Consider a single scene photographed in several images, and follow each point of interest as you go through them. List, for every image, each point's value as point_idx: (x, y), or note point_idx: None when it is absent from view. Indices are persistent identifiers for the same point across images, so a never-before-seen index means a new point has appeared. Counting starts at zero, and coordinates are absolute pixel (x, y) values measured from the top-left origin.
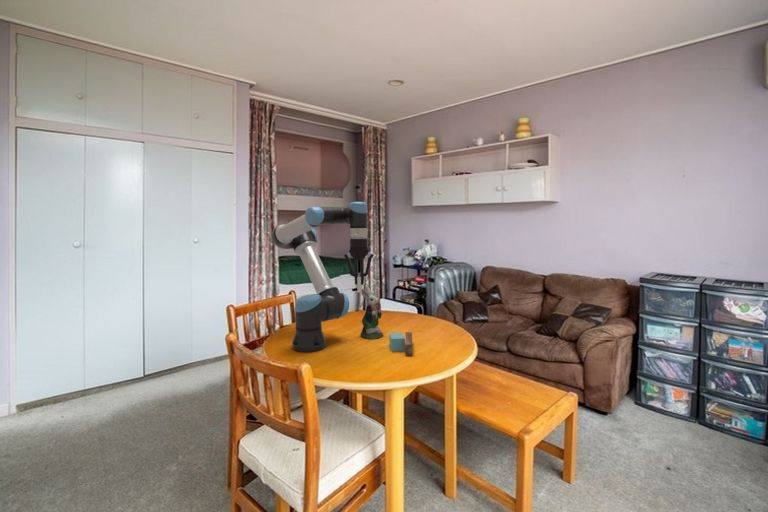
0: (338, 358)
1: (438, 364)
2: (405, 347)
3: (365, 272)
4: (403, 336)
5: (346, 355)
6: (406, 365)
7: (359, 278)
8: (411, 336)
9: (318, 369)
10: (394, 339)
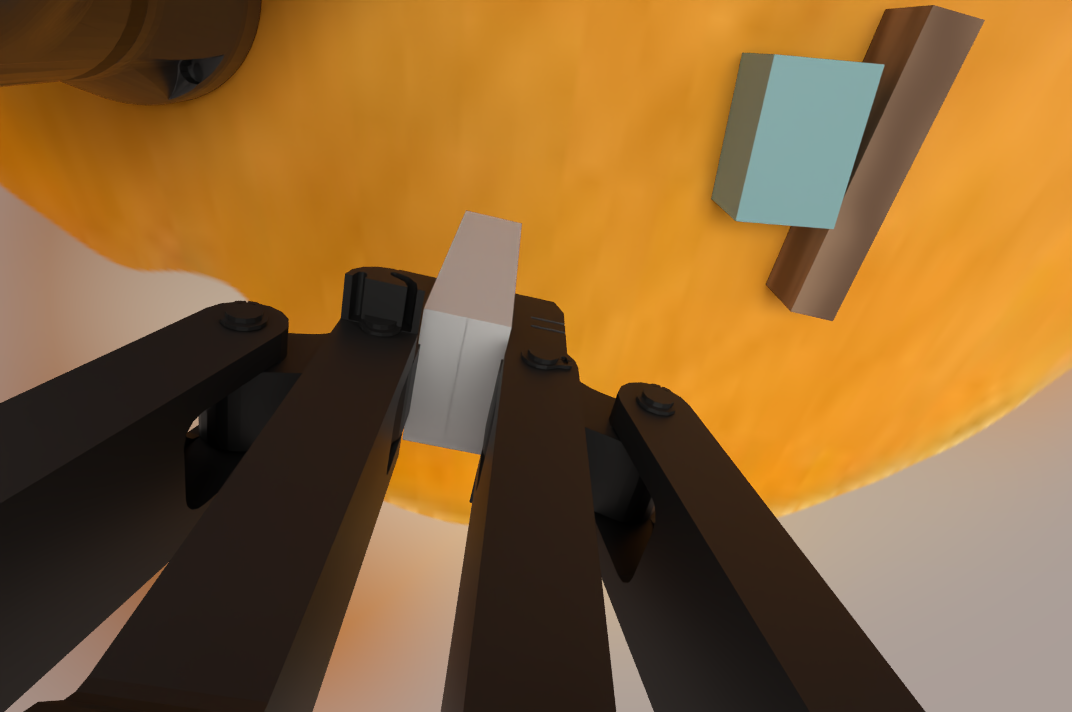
0: (377, 251)
1: (874, 420)
2: (785, 304)
3: (603, 558)
4: (843, 180)
5: (424, 209)
6: (720, 406)
7: (456, 437)
8: (916, 144)
9: None
10: (756, 221)
